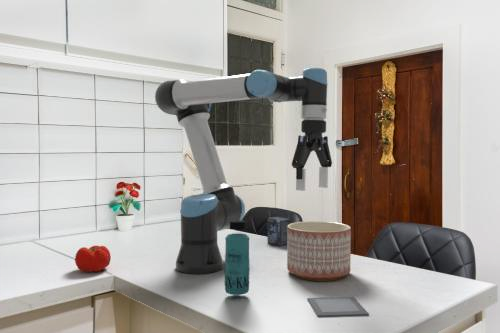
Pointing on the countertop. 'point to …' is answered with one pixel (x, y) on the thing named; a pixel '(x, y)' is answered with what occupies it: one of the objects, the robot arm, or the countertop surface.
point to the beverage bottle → (237, 260)
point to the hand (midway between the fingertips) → (312, 188)
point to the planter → (318, 250)
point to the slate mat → (337, 306)
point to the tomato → (92, 258)
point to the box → (277, 231)
